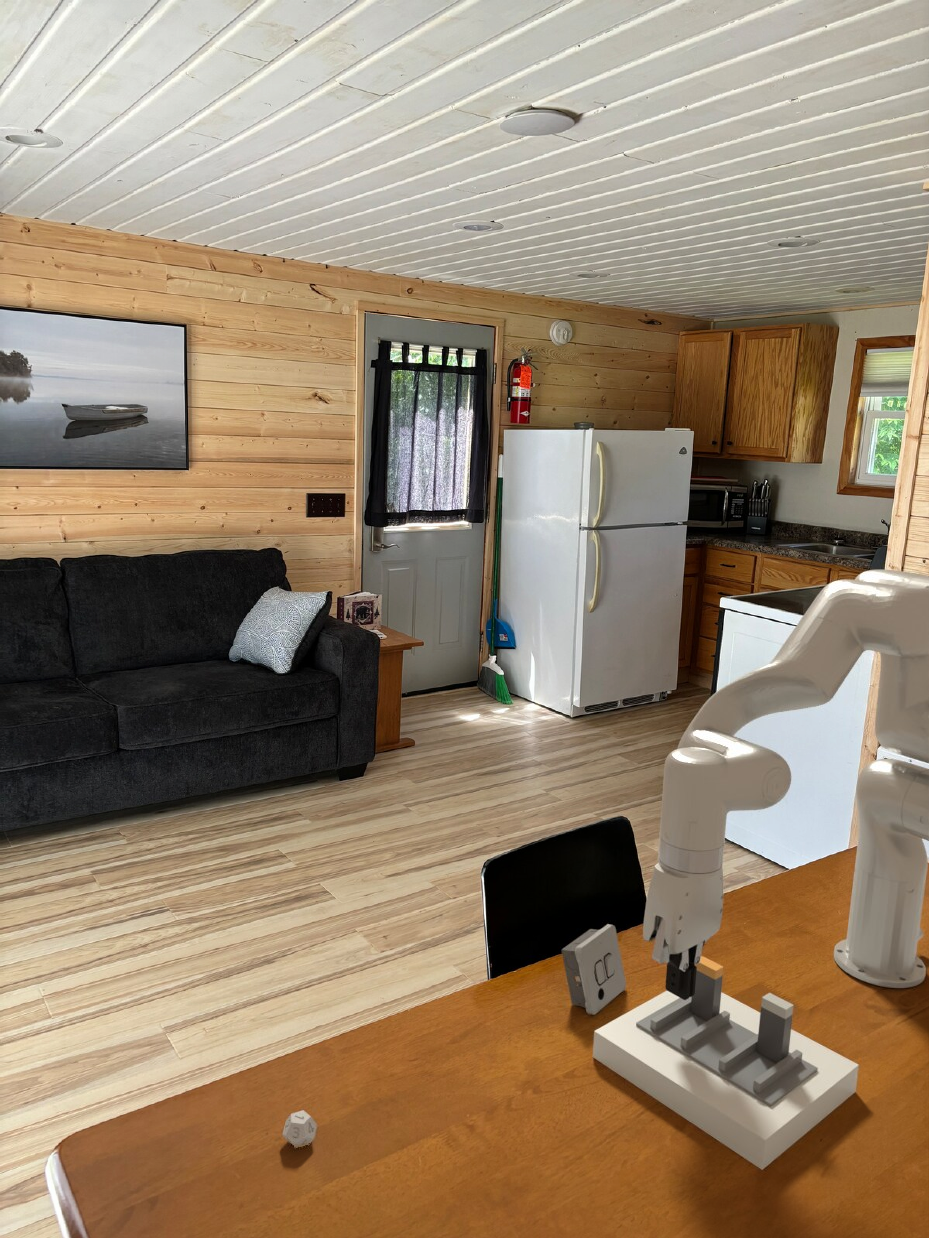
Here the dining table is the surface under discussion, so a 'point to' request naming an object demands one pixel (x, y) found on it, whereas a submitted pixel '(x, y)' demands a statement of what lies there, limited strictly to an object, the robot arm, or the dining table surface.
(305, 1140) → the game die
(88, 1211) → the dining table surface
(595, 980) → the electrical switch
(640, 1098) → the dining table surface
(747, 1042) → the lever base
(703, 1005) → the toggle
